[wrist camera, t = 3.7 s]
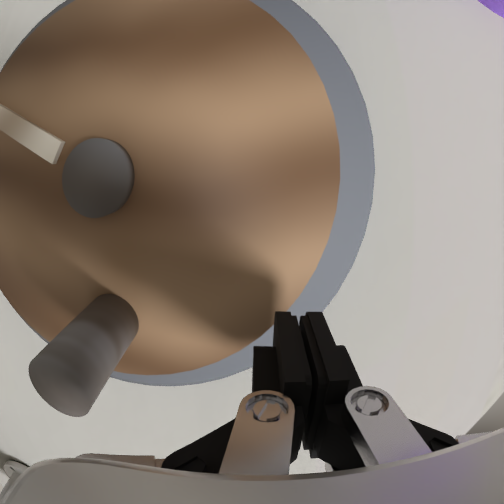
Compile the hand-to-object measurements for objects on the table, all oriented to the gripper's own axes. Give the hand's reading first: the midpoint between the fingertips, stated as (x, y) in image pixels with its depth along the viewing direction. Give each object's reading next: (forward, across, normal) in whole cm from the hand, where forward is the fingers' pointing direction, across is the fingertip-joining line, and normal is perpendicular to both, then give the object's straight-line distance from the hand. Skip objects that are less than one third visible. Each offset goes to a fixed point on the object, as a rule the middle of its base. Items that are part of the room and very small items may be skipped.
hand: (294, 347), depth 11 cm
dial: (+3, +7, -6) cm, 10 cm away
